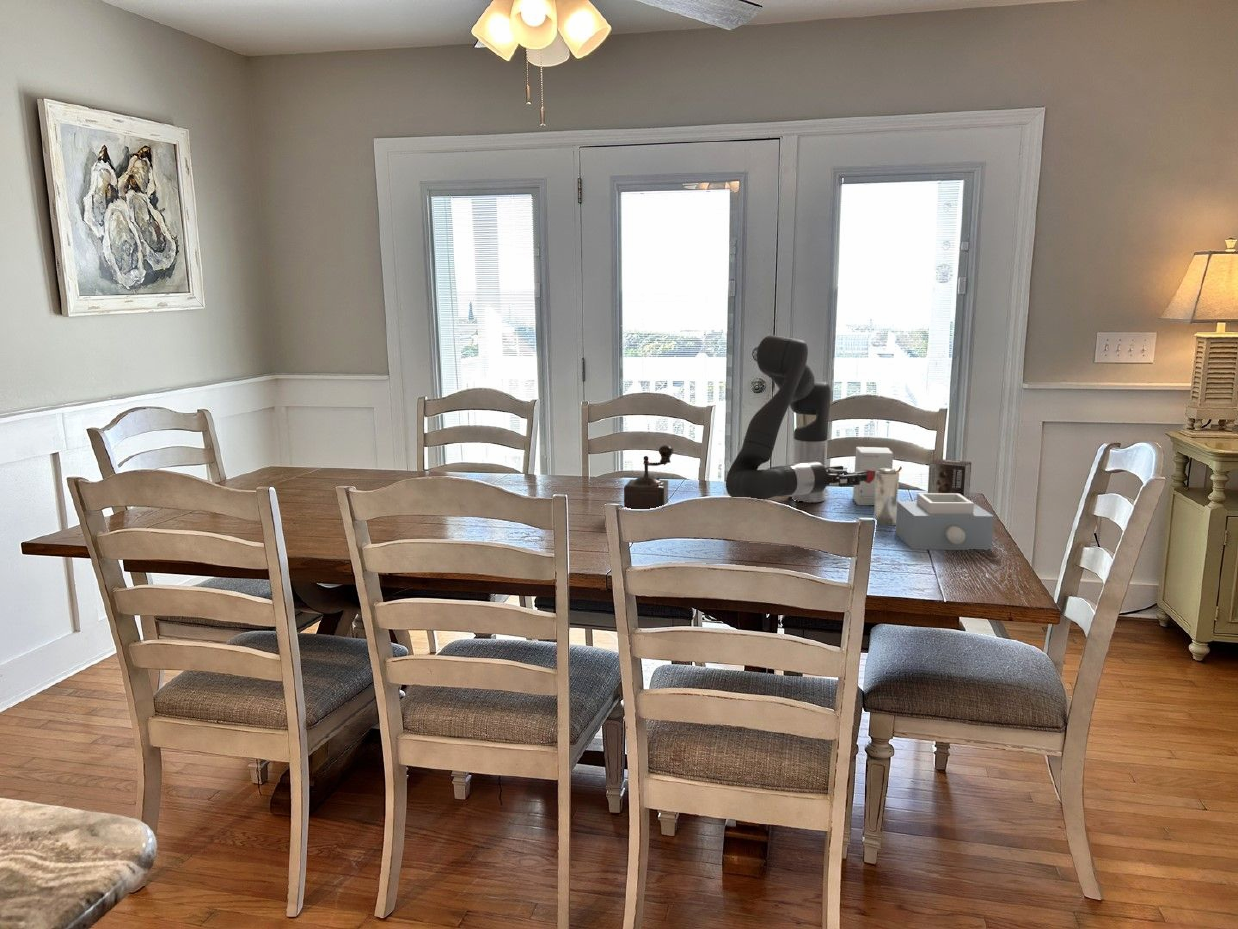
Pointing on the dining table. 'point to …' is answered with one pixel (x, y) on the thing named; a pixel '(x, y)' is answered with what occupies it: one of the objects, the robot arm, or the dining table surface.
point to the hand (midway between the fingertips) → (854, 472)
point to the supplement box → (870, 471)
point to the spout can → (886, 496)
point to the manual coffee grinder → (648, 486)
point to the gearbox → (943, 523)
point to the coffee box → (949, 477)
